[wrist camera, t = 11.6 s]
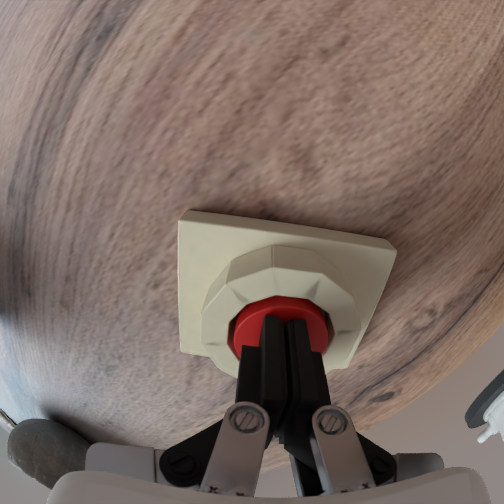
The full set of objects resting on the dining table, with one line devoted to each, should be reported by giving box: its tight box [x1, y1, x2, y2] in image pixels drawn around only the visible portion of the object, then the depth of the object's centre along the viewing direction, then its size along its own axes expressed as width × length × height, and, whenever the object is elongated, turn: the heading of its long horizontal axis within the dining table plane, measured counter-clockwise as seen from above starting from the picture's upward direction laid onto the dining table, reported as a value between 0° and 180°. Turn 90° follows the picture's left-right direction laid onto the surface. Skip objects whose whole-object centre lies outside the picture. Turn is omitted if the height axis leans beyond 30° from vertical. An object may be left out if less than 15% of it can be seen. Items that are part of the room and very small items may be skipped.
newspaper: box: [0, 409, 15, 430], centre depth 41 cm, size 23×12×2 cm, turn 21°
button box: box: [178, 210, 397, 378], centre depth 13 cm, size 10×8×4 cm
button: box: [234, 295, 328, 357], centre depth 12 cm, size 4×4×2 cm
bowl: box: [7, 419, 91, 490], centre depth 23 cm, size 18×18×13 cm
